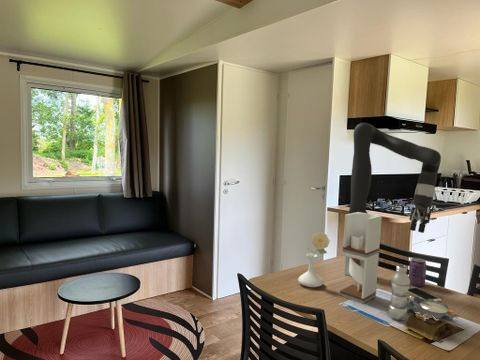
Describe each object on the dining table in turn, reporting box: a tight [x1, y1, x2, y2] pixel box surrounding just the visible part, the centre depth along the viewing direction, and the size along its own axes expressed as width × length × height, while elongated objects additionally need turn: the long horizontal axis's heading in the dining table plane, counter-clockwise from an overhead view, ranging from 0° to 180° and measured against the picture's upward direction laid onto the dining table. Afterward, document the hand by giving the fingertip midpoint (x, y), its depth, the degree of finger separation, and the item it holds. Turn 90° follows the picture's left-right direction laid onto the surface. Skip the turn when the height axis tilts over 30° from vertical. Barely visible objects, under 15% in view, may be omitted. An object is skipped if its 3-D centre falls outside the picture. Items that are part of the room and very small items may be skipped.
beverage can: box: [408, 257, 428, 287], centre depth 166 cm, size 7×7×12 cm
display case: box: [339, 212, 383, 304], centre depth 149 cm, size 11×11×35 cm
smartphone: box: [408, 286, 442, 303], centre depth 155 cm, size 8×1×15 cm
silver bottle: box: [388, 264, 411, 321], centre depth 130 cm, size 6×7×20 cm
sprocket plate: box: [407, 295, 455, 322], centre depth 139 cm, size 19×18×4 cm
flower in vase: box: [297, 231, 331, 288], centre depth 159 cm, size 13×11×25 cm
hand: (416, 231), depth 153 cm, fingers open, 8 cm apart
